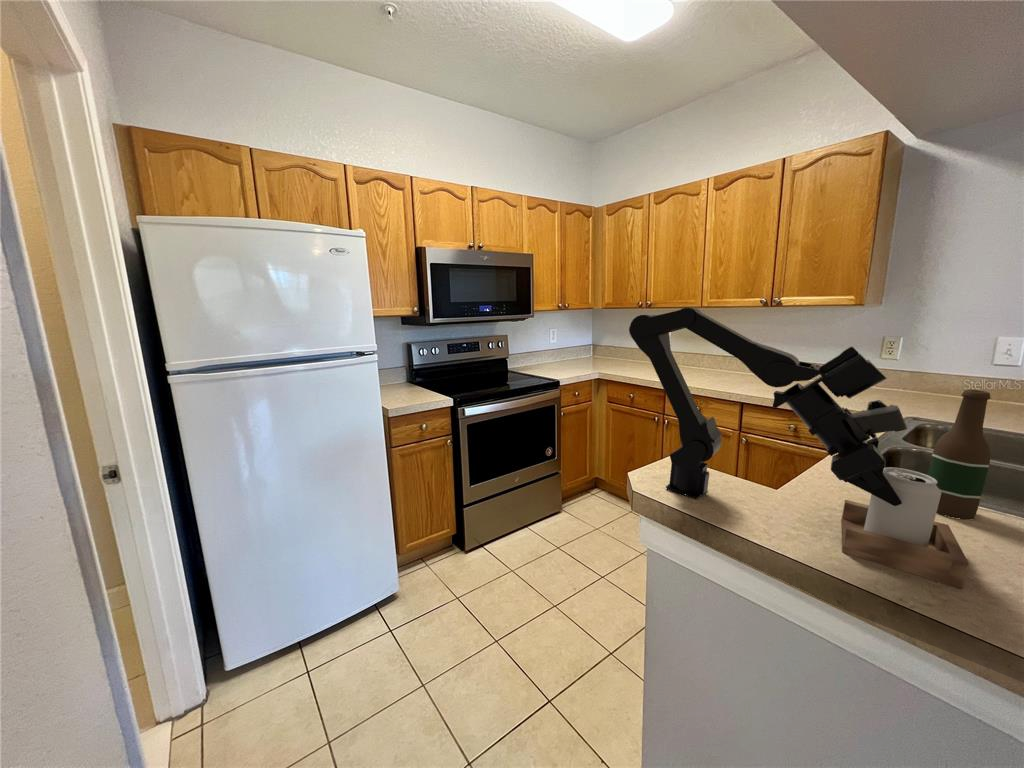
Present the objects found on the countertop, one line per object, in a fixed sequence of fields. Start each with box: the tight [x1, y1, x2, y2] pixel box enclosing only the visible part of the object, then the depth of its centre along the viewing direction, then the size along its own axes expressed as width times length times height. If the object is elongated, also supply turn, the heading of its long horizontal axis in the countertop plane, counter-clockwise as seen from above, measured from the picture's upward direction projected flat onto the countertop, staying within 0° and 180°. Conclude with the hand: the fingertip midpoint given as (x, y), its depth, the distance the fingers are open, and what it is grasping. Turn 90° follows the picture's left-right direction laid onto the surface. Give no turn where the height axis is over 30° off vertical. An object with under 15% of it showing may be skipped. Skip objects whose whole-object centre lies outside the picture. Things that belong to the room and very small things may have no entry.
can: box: [864, 466, 941, 547], centre depth 63 cm, size 8×8×12 cm
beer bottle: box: [927, 389, 992, 520], centre depth 76 cm, size 8×8×24 cm
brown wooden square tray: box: [840, 499, 970, 589], centre depth 64 cm, size 13×13×4 cm
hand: (895, 494), depth 63 cm, fingers open, 9 cm apart
